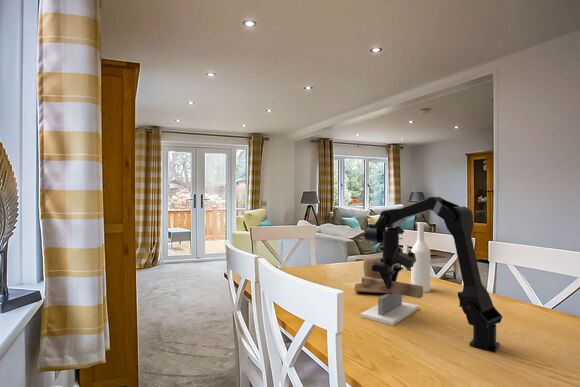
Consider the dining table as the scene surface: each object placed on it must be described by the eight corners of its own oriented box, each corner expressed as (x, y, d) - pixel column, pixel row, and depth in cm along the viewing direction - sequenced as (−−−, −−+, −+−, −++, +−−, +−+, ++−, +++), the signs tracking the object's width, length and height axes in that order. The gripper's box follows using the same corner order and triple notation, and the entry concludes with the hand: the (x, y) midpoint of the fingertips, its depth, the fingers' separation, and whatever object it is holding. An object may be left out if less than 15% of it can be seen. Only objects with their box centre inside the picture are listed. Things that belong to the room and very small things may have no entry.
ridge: (393, 325, 114) (393, 304, 114) (360, 316, 122) (360, 296, 122) (418, 308, 130) (418, 289, 130) (388, 302, 138) (388, 284, 138)
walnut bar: (361, 286, 132) (361, 277, 132) (365, 285, 134) (365, 276, 134) (419, 298, 118) (419, 288, 118) (422, 296, 120) (422, 286, 120)
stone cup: (388, 288, 157) (388, 255, 157) (391, 296, 146) (391, 260, 146) (354, 287, 160) (354, 254, 160) (354, 294, 149) (354, 259, 149)
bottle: (431, 292, 151) (431, 223, 151) (411, 291, 153) (411, 223, 153) (429, 287, 159) (429, 222, 159) (410, 286, 161) (410, 221, 161)
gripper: (401, 250, 114) (401, 298, 114) (422, 243, 128) (422, 286, 128) (370, 246, 121) (370, 291, 121) (393, 241, 135) (393, 281, 135)
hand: (390, 287), depth 126 cm, fingers closed on walnut bar, 3 cm apart
